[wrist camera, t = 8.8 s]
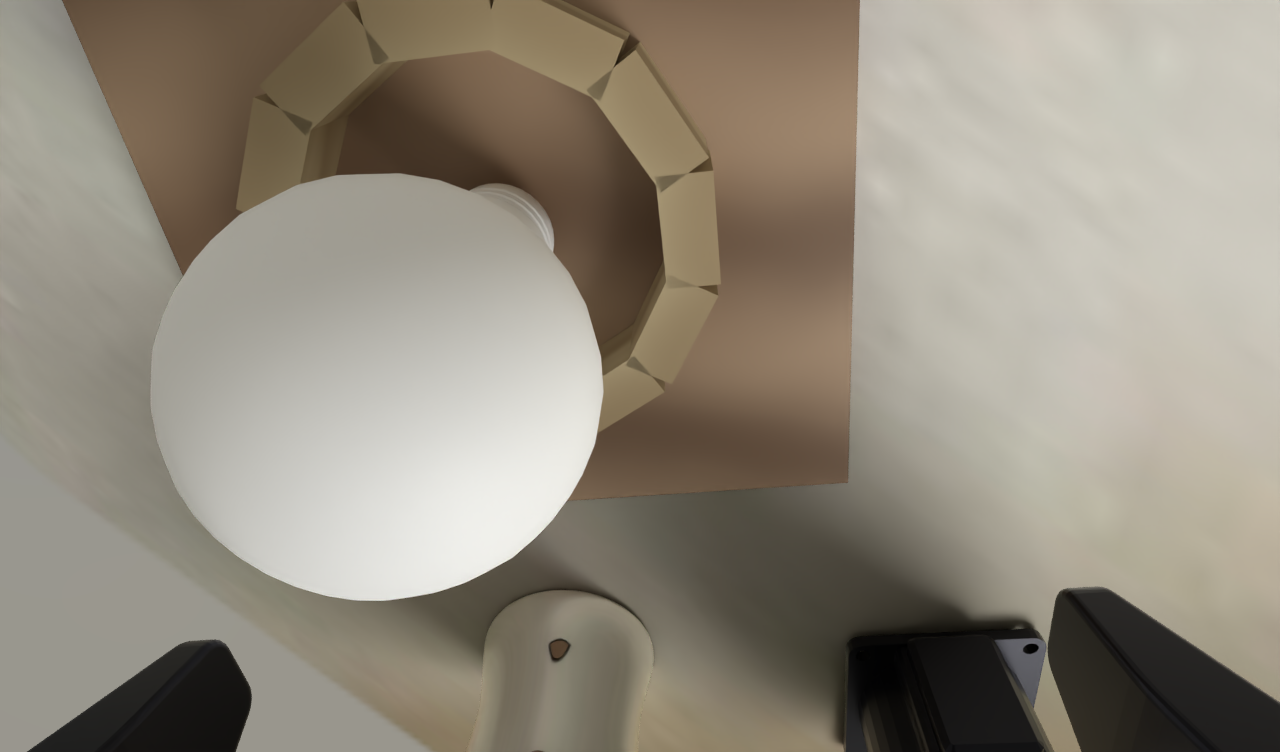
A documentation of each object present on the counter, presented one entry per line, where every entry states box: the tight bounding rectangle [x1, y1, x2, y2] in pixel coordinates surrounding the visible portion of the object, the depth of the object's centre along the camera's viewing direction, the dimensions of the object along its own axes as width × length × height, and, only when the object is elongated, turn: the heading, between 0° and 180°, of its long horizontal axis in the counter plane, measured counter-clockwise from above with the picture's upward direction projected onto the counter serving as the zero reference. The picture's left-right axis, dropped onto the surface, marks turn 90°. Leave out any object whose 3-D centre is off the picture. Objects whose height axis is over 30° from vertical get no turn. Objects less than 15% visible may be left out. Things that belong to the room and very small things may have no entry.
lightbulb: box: [151, 173, 604, 601], centre depth 13 cm, size 6×6×11 cm
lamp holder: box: [62, 0, 860, 501], centre depth 17 cm, size 17×17×3 cm
